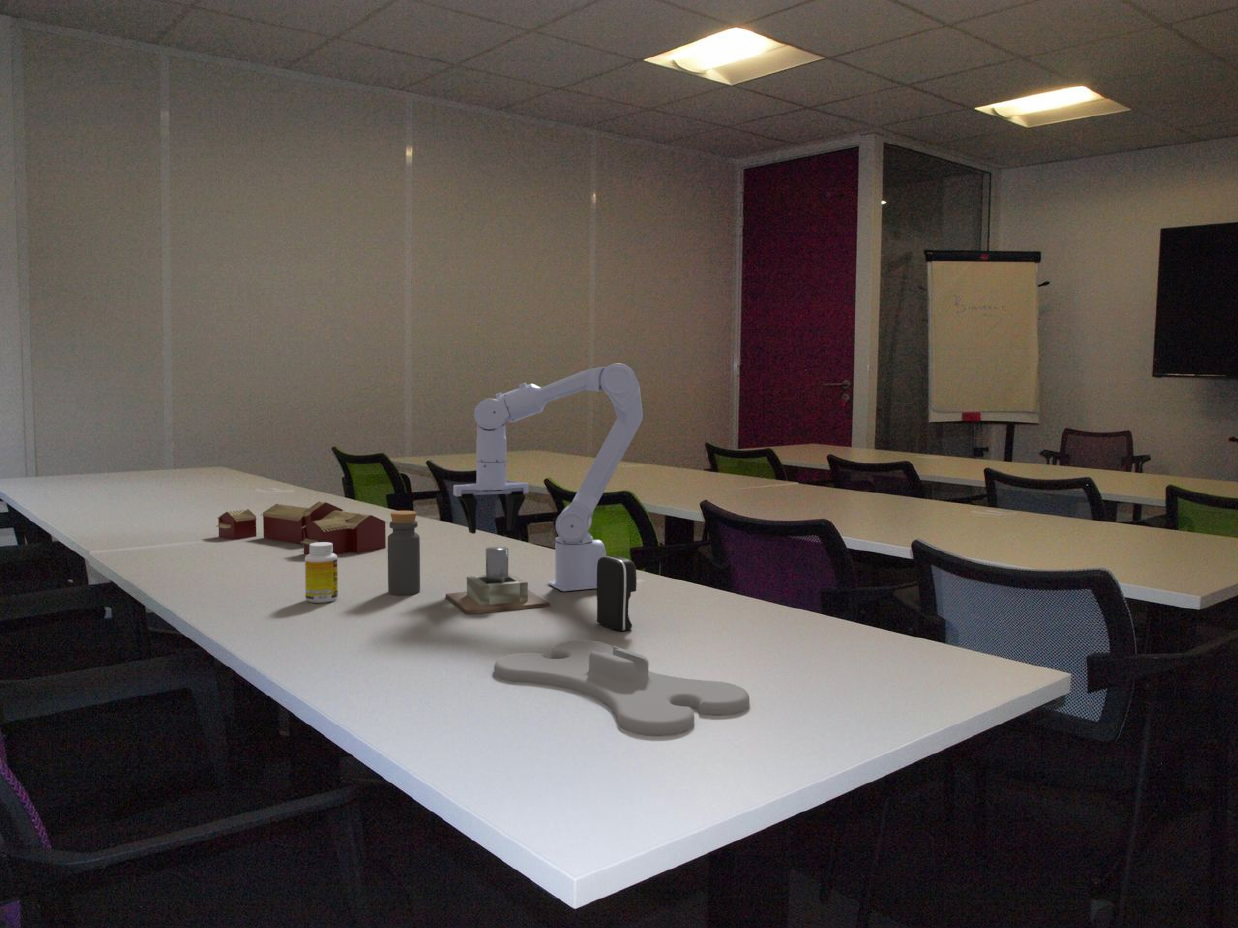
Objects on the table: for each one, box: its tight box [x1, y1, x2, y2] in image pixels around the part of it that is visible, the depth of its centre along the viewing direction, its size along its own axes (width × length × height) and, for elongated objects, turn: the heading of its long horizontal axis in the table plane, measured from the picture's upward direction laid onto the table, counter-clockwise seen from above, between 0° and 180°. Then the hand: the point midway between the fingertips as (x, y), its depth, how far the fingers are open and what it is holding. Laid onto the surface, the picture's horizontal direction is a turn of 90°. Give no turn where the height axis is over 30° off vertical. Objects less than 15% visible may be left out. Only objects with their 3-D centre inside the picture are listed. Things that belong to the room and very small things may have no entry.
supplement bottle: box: [304, 542, 339, 604], centre depth 169 cm, size 6×6×10 cm
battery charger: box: [596, 555, 638, 632], centre depth 153 cm, size 7×4×11 cm, turn 36°
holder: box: [493, 639, 750, 737], centre depth 124 cm, size 19×34×5 cm, turn 42°
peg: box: [485, 546, 509, 584], centre depth 169 cm, size 4×4×9 cm
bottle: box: [387, 510, 421, 596], centre depth 176 cm, size 6×6×15 cm
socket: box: [445, 572, 551, 615], centre depth 170 cm, size 15×14×4 cm
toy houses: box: [215, 501, 389, 556], centre depth 227 cm, size 45×20×10 cm, turn 55°
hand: (491, 531), depth 183 cm, fingers open, 7 cm apart
